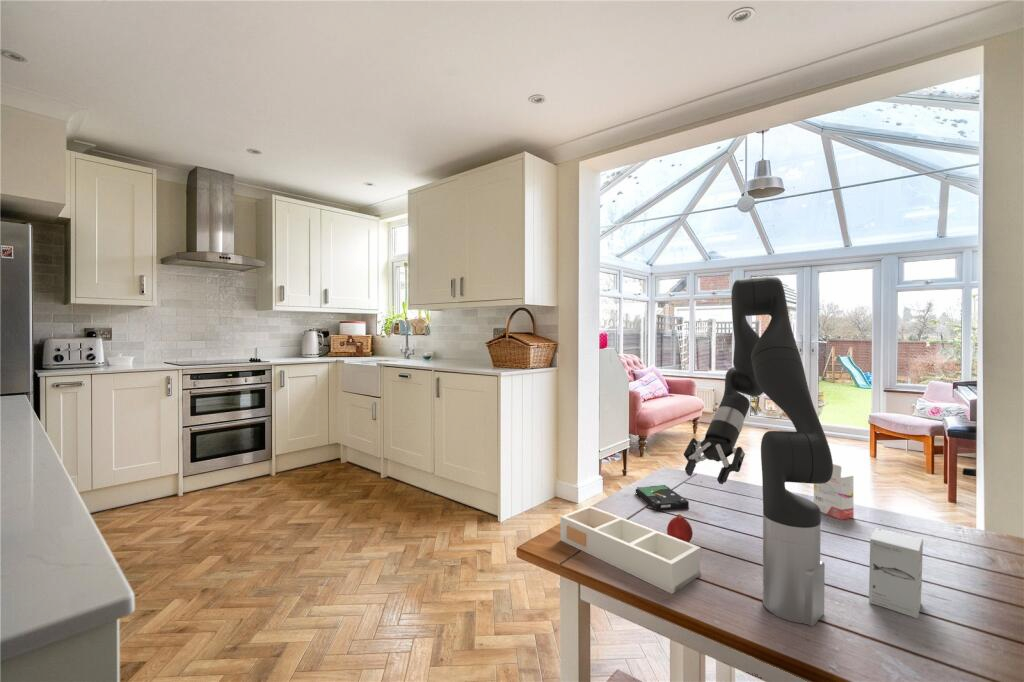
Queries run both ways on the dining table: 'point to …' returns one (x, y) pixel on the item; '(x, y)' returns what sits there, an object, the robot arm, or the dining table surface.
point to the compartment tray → (633, 547)
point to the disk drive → (662, 498)
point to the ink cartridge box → (836, 495)
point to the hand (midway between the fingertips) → (703, 478)
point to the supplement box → (896, 571)
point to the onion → (680, 528)
